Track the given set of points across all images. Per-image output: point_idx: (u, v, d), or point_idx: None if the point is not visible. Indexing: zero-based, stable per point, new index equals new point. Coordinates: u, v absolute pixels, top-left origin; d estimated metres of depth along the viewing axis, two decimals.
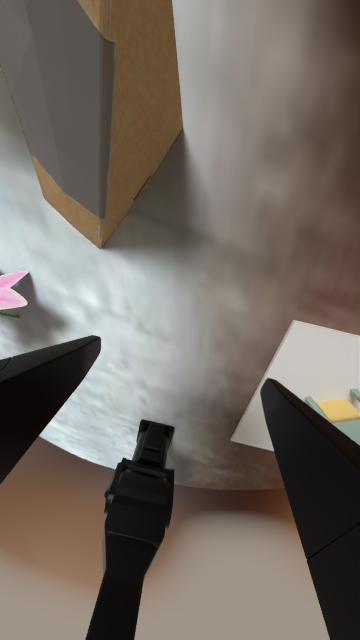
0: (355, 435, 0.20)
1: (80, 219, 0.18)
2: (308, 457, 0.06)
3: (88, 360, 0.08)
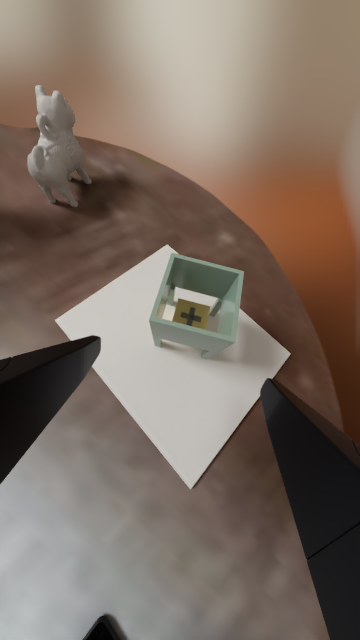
0: None
1: None
2: (308, 457, 0.06)
3: (88, 360, 0.08)
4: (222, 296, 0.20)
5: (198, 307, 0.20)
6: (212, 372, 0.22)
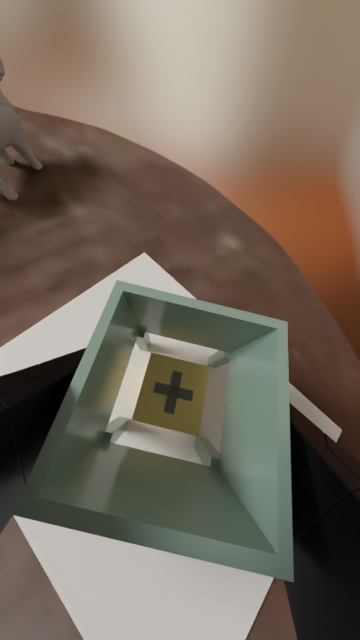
0: None
1: None
2: None
3: None
4: (231, 350, 0.11)
5: (187, 369, 0.11)
6: None
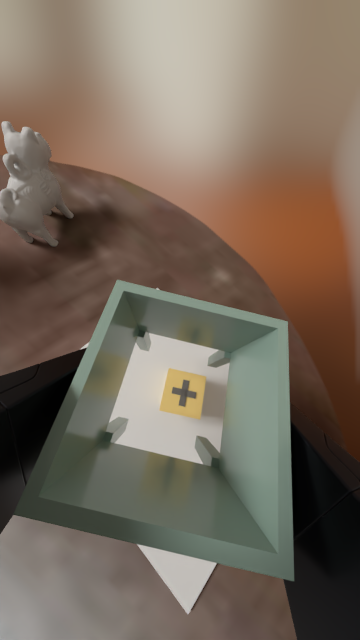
0: None
1: None
2: None
3: None
4: (231, 350, 0.11)
5: (192, 378, 0.17)
6: None
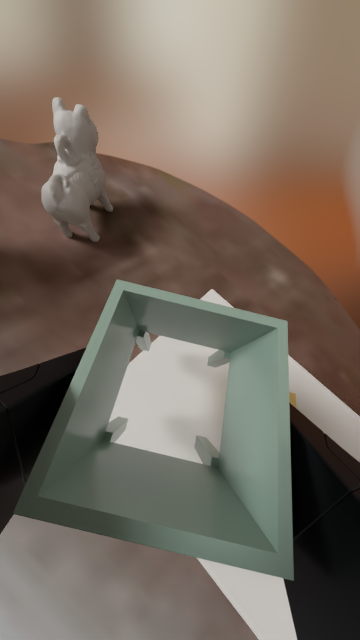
0: None
1: None
2: None
3: None
4: (231, 350, 0.11)
5: None
6: None
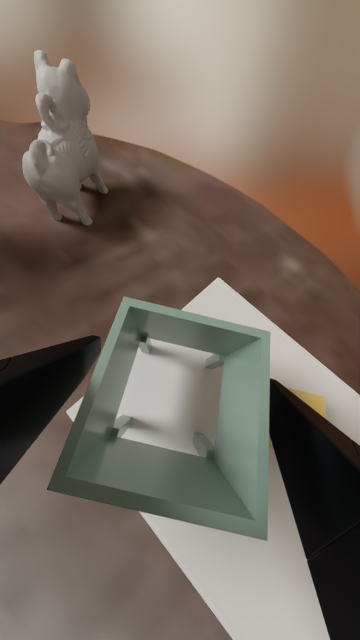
0: None
1: None
2: (308, 457, 0.06)
3: (88, 360, 0.08)
4: (225, 354, 0.12)
5: (306, 399, 0.12)
6: None
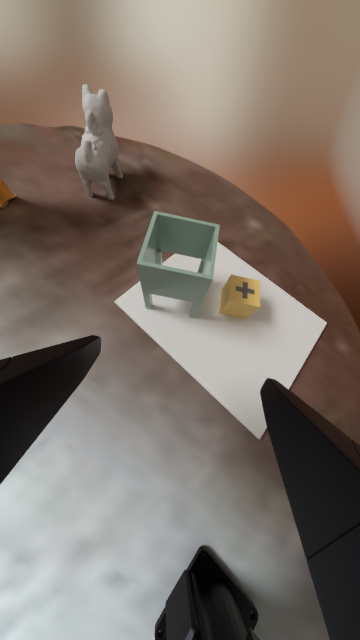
0: None
1: None
2: (308, 457, 0.06)
3: (88, 360, 0.08)
4: (204, 256, 0.22)
5: (249, 281, 0.23)
6: (262, 341, 0.24)
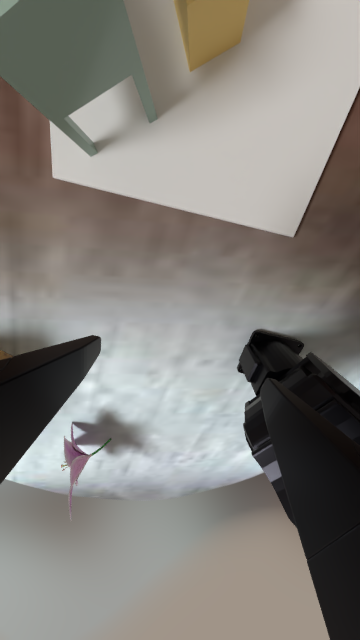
0: None
1: None
2: (308, 457, 0.06)
3: (88, 360, 0.08)
4: None
5: None
6: (281, 76, 0.13)
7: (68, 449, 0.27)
